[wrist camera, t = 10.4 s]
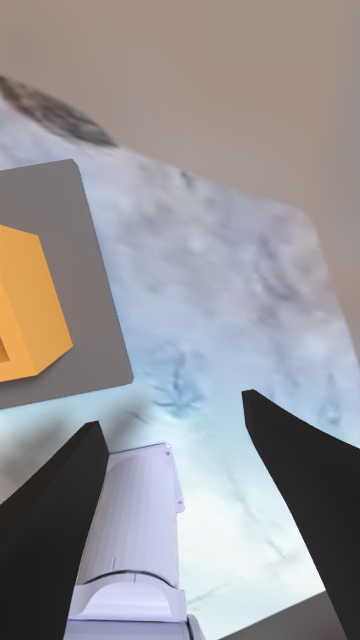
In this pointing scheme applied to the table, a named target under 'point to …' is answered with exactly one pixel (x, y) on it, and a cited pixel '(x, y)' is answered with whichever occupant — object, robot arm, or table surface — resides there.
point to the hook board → (66, 282)
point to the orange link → (27, 308)
